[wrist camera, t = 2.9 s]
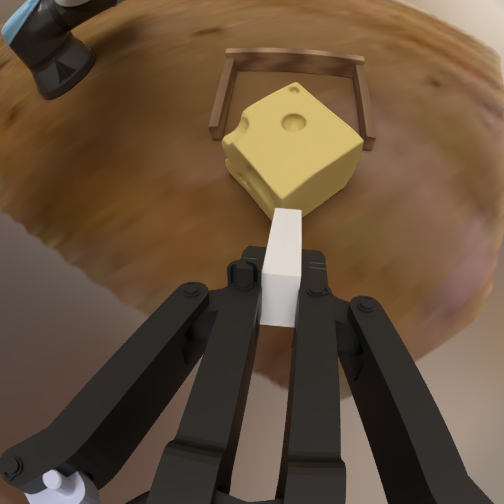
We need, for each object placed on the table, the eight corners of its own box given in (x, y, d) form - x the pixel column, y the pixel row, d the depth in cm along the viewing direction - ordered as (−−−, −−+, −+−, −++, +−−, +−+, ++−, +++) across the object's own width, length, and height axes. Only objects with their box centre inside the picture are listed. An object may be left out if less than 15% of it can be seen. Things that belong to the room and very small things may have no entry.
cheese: (228, 174, 35) (210, 124, 25) (296, 130, 36) (299, 75, 26) (280, 239, 32) (280, 203, 23) (351, 187, 33) (373, 139, 23)
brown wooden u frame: (213, 140, 36) (206, 121, 33) (230, 66, 40) (226, 48, 36) (370, 150, 34) (378, 133, 30) (359, 74, 38) (363, 56, 34)
